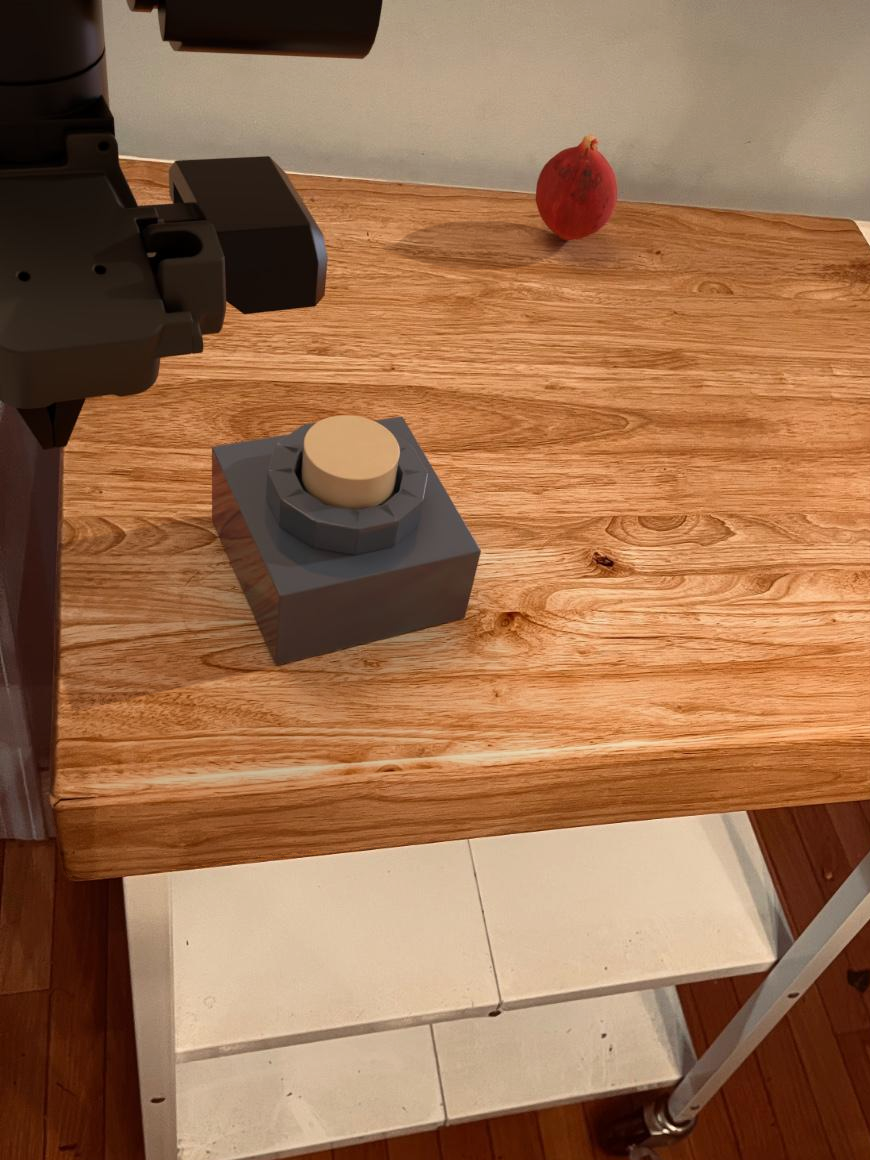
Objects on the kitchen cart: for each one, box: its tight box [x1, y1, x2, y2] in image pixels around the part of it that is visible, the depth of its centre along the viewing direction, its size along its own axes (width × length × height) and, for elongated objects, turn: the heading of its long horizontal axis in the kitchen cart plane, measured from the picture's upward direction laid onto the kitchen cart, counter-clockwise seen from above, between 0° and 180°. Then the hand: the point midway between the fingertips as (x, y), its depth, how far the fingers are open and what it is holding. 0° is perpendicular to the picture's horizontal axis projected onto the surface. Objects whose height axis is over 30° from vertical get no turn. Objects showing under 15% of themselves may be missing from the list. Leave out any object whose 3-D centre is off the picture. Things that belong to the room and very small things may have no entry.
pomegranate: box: [534, 134, 618, 242], centre depth 84 cm, size 6×6×8 cm
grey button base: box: [211, 416, 482, 666], centre depth 59 cm, size 10×10×7 cm
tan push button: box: [301, 414, 400, 510], centre depth 56 cm, size 4×4×2 cm
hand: (52, 441), depth 45 cm, fingers closed
